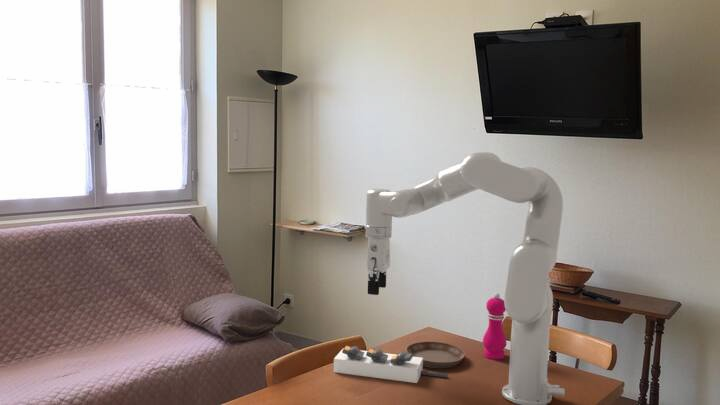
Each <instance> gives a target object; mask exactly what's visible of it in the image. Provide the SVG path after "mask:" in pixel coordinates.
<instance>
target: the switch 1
mask: <svg viewBox="0 0 720 405" xmlns="http://www.w3.org/2000/svg"><path fill="white" fill-rule="evenodd" d="M342 349H343V348H342ZM360 350H361V349H360V348H359V347H358V346H356V345H354V346H349V345H345V347H344V349H343V351H342V353H344V354H347V356H348V358H350V359H354V358H357V359H359V360H361V358H362V357H363V356H364V353H365V352H362V351H363V350H362V351H360Z"/></svg>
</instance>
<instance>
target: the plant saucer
mask: <svg viewBox="0 0 720 405" xmlns="http://www.w3.org/2000/svg"><path fill="white" fill-rule="evenodd" d="M405 351H406V354H409V353H412V355H413V357H421V358H423V367H425V368H428V369H429V368H430V369H449V368H453V367H456V366H457V365H458V364H459V363H460V362H461V361H462V360H463V359H464V357H465V356H466V353H465V351H464V349H461V348H460V347H458V346H456V345H454V344H450V343H446V342H439V341H418V342H413V343H411V344H409V345H408V346H407V347H406V348H405Z"/></svg>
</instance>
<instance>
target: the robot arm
mask: <svg viewBox="0 0 720 405" xmlns="http://www.w3.org/2000/svg"><path fill="white" fill-rule="evenodd" d="M477 190H481V191H484V192H486V193H489V194H492V195H493V196H496V197H499V198H501V199H504V200H507V201H509V202H512V203H516V204H526V203H528V210H527V215H526V219H525V228H524V233H523V237H522V242H521V243H520V244H519V245H517V246H516V247H515V248H514V250H513V252H512V254H511V256H510V259H509V265H508V270H507V271H508V272H507V278H506V286H505V292H504V304H505V309H506V310H505V312H506V313H507V315H508V317H510V319H511V320H512V321H511V332H510V347H509V348H510V349H509V350H510V351H509V368H508V384H506V385H504V386H503V387H502V390H501V394H502V396H503V397H504V399H506V400H508V401H509V402H511V403H514V404H515V405H516V404H517V405H548V404H549V403H551V402H552V397H553V395H554V396H558V397H559V396H560V397H565V394H566V393H565V391H566V389H565V388H562V387H560V385H558V384H551V383H549V380H548V379H549V378H548V363H549V362H548V361H549V360H548V358H549V343H550V332H551V322H552V320H551V319H552V312H553V307H554V294H553V290H552V288H551V286H550V284H549V283H548V280H549V273H550V272H551V271H552V270H553V268H554V267H555V265H556V263H557V258H558V248H559V240H560V234H561V226H562V219H563V218H562V217H563V206H564V205H563V204H564V202H563V201H564V200H563V196H562V191H561V188H560V187H559V185H558V182H556V180H555V179H554V178H553V177H552V176H551V175H549V174H548V173H547V172H545V171H544V170H541V169H540V168H537V167H533V166H530V167H529V166H527V167H518V166H515V165H512V164H510V163H507V162H504V161H502V160H501V158H500V157H499V156H498V155H497V154H495V153H493V152H491V151H483V152H474V153H471V154H469V155H468V156H466V158H464V160H463V161H460V162H458V163H456V164H454V165H452V166H449V167H446V168H444V169H442V170H440V171H439V172H437V175H436V176H435V177H434V178H432V179H430V180H428V181H426V182H424V183H422V184H419V185H417V186H415V187H412V188H408V189H401V190H394V191H391V190H390V189H385V188H371V189H369V190H367V192H366V200H365V201H366V206H365V208H366V210H365V237H366V238H368V240H367V241H368V242H367V251H366V252H367V254H366V256H367V257H366V269H367V271H368V275H367V277H368V278H367V294H368V295H373V296H379V294H380V288H382V289H383V288H386V287H387V270H388V269H390V267H391V242H390V238H392V236H393V235H392V231H393V230H392V227H393V226H392V225H393V218H397V219H398V218H406V217H410V216H413V215H417V214H420V213H422V212H425V211H427V210H429V209H432V208H435V207H436V206H437V207H438V206H439V205H442V204H444V203H446V202H452V201H453V200H456V199H458V198H460V197H462V196H465V195H468V194H469V193H472V192H475V191H477Z"/></svg>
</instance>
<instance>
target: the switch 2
mask: <svg viewBox="0 0 720 405" xmlns="http://www.w3.org/2000/svg"><path fill="white" fill-rule="evenodd" d="M412 357H413V355H412V353H409V354H407V352H405V351H400V352H399V353H398V354H396V356H393V357H392V358H391V360H390V361H391V364H393V363H397V364H398V365H403V364H404V363H405V362H407V361H411V359H412Z"/></svg>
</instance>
